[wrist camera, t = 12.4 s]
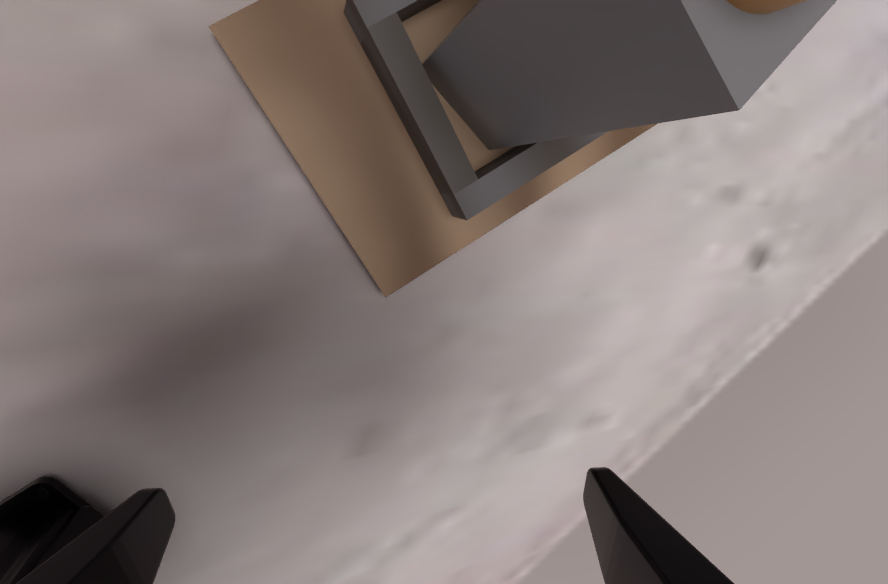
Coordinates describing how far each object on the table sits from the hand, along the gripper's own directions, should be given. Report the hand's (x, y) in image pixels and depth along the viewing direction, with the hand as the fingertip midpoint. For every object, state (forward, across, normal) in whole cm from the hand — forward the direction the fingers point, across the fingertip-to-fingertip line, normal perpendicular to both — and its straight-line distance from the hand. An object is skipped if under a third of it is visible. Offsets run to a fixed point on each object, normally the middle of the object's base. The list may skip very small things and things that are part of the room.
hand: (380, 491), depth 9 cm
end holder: (+15, -4, -8) cm, 18 cm away
